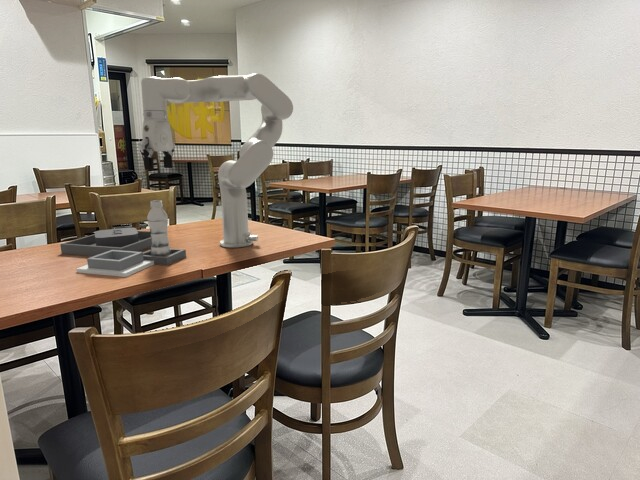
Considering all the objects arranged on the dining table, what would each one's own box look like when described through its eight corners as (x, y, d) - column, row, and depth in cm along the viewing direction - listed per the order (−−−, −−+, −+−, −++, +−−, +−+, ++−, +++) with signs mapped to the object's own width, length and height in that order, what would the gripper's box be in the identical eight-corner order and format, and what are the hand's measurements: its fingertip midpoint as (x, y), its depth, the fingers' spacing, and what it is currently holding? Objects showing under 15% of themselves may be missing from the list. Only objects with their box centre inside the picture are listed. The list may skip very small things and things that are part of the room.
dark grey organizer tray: (167, 240, 176) (166, 232, 175) (122, 258, 152) (121, 248, 151) (112, 237, 183) (111, 229, 182) (61, 253, 159) (60, 244, 158)
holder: (186, 256, 154) (185, 249, 153) (167, 265, 143) (166, 257, 143) (156, 254, 157) (155, 247, 156) (136, 262, 147) (135, 255, 146)
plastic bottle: (176, 257, 152) (170, 199, 147) (163, 263, 146) (157, 202, 141) (160, 256, 154) (154, 199, 150) (147, 261, 148) (141, 202, 143)
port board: (155, 263, 145) (153, 251, 144) (126, 277, 132) (124, 263, 131) (109, 260, 150) (107, 248, 149) (76, 272, 137) (74, 259, 136)
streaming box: (140, 247, 164) (138, 234, 163) (96, 252, 158) (94, 238, 157) (136, 239, 177) (135, 227, 176) (96, 243, 171) (94, 230, 170)
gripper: (147, 115, 138) (150, 170, 142) (181, 118, 154) (183, 167, 158) (127, 115, 141) (131, 169, 145) (163, 118, 157) (166, 167, 160)
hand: (159, 168), depth 151 cm, fingers open, 9 cm apart
